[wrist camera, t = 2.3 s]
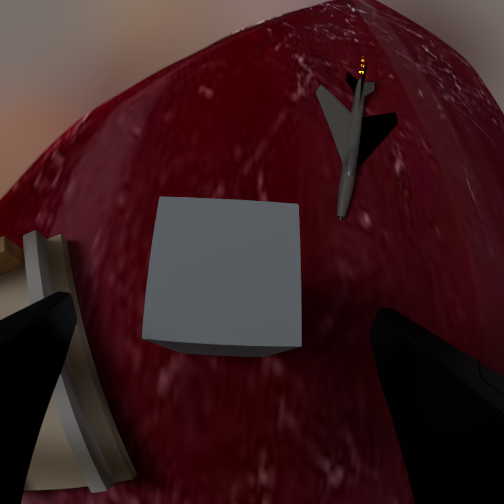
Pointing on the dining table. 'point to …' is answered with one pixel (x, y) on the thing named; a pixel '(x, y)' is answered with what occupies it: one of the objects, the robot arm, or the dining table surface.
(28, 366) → the robot arm
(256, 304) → the block
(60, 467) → the rail
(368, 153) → the toy airplane
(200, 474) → the dining table surface
